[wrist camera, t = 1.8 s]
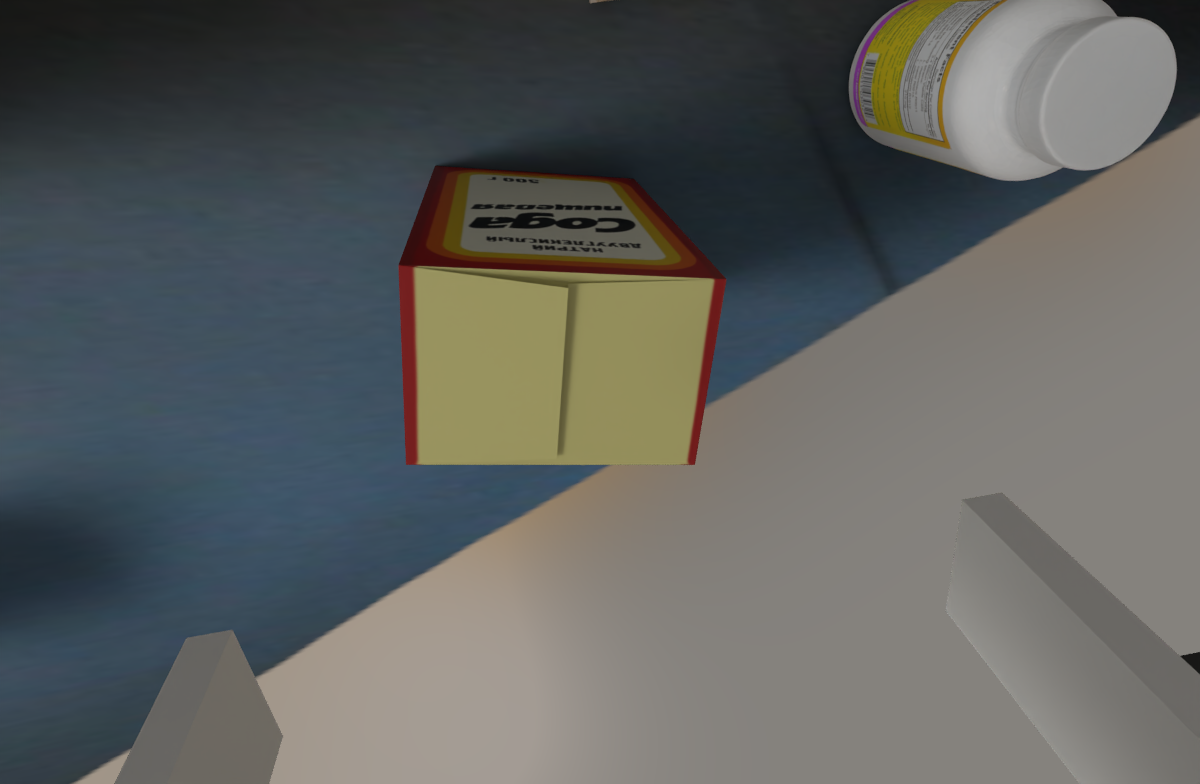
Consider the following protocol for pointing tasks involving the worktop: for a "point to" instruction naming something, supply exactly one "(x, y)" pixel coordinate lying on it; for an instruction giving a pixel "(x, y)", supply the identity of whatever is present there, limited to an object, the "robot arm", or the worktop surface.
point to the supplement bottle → (1012, 84)
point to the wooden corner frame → (594, 0)
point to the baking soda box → (552, 323)
